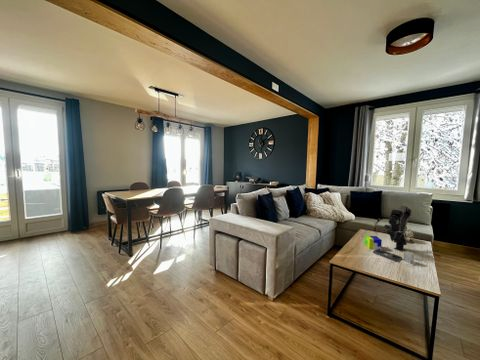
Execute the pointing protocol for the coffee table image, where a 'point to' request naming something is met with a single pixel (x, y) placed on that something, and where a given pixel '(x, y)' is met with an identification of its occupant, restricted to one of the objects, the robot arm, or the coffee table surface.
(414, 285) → the coffee table surface
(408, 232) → the owl figurine
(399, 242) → the robot arm
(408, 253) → the brushed metal block
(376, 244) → the puzzle toy
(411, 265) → the mat
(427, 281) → the coffee table surface
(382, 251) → the slotted plate
